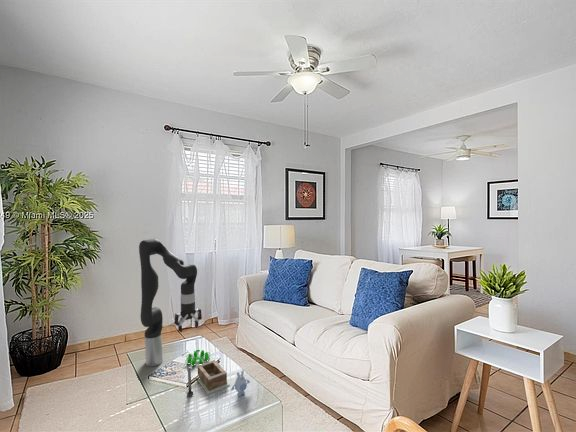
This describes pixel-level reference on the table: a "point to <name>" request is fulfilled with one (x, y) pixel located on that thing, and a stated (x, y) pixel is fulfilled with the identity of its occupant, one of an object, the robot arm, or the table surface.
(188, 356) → the green lumpy cluster
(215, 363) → the brown wooden open box
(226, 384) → the mat
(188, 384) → the post stand
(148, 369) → the table surface
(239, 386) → the toy figure
